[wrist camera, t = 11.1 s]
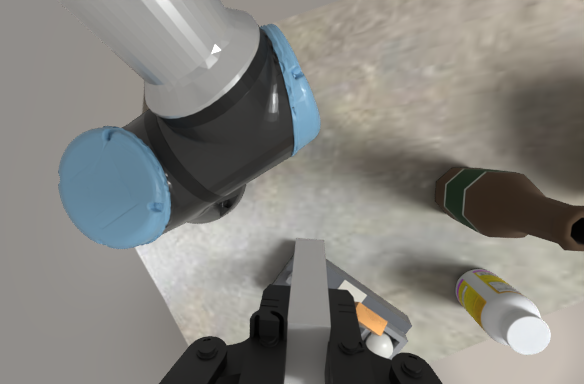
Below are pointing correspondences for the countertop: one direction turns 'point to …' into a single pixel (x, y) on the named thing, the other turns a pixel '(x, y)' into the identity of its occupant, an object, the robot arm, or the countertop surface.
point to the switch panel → (362, 294)
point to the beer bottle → (508, 207)
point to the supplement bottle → (502, 311)
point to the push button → (380, 344)
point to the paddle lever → (370, 319)
